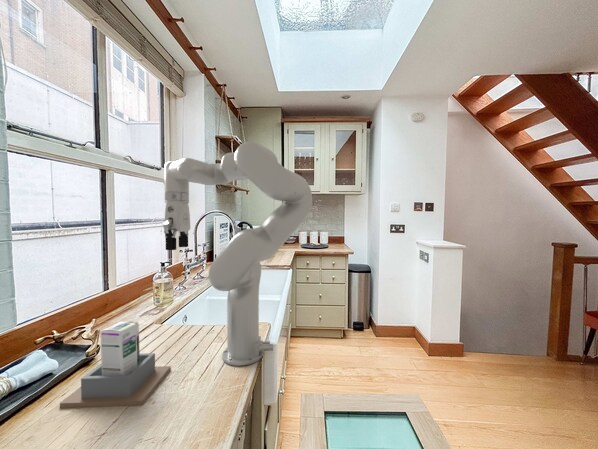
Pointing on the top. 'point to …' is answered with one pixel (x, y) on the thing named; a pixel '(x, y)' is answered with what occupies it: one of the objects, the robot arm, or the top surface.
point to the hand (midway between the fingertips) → (177, 248)
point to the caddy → (118, 386)
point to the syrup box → (120, 348)
